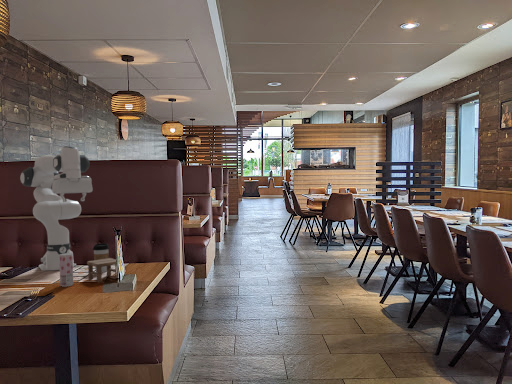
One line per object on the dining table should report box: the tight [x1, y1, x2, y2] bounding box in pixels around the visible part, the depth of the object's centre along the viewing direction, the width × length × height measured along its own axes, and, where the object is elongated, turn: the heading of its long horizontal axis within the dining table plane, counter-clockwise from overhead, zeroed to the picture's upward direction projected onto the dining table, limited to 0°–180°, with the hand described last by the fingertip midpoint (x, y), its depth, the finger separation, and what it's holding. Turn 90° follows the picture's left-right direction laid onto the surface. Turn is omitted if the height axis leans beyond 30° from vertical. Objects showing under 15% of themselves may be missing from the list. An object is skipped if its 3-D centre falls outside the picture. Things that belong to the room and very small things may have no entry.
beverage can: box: [59, 253, 74, 288], centre depth 189 cm, size 6×6×15 cm
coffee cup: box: [92, 242, 110, 273], centre depth 219 cm, size 8×8×15 cm
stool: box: [86, 257, 117, 284], centre depth 201 cm, size 12×12×9 cm
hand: (73, 201), depth 213 cm, fingers open, 8 cm apart
